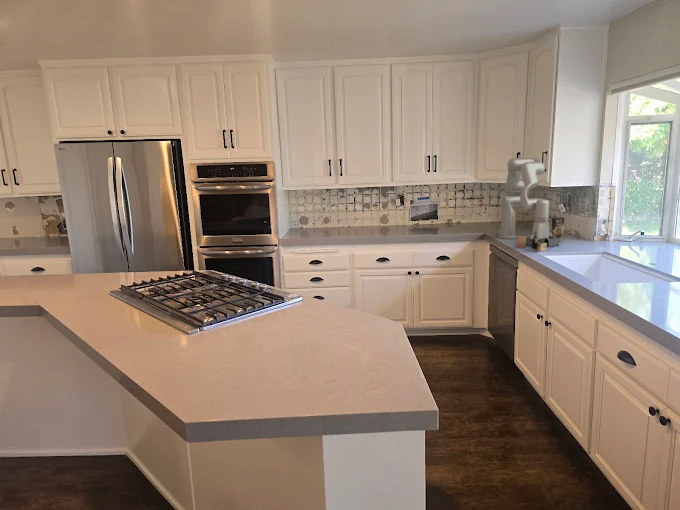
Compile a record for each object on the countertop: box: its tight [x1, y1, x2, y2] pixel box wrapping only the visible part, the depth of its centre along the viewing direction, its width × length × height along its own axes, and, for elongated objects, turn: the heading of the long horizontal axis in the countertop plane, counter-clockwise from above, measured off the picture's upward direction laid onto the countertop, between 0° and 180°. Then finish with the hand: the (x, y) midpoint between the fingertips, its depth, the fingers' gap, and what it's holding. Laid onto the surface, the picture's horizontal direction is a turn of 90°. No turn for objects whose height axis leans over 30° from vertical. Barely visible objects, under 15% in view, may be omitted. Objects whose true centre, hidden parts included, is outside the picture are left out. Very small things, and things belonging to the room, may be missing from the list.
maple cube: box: [533, 242, 548, 252], centre depth 276 cm, size 5×5×5 cm
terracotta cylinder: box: [516, 235, 527, 249], centre depth 287 cm, size 5×5×7 cm
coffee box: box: [549, 216, 565, 243], centre depth 302 cm, size 9×6×16 cm
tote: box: [525, 234, 560, 248], centre depth 293 cm, size 18×14×5 cm
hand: (540, 247), depth 276 cm, fingers open, 9 cm apart
